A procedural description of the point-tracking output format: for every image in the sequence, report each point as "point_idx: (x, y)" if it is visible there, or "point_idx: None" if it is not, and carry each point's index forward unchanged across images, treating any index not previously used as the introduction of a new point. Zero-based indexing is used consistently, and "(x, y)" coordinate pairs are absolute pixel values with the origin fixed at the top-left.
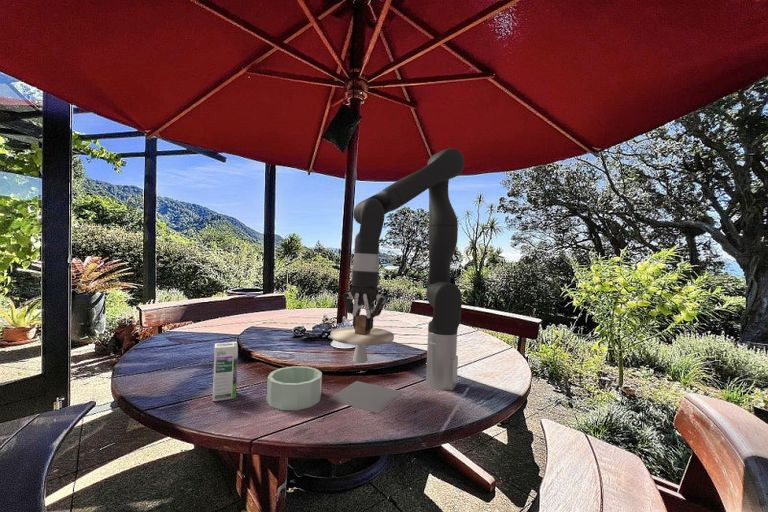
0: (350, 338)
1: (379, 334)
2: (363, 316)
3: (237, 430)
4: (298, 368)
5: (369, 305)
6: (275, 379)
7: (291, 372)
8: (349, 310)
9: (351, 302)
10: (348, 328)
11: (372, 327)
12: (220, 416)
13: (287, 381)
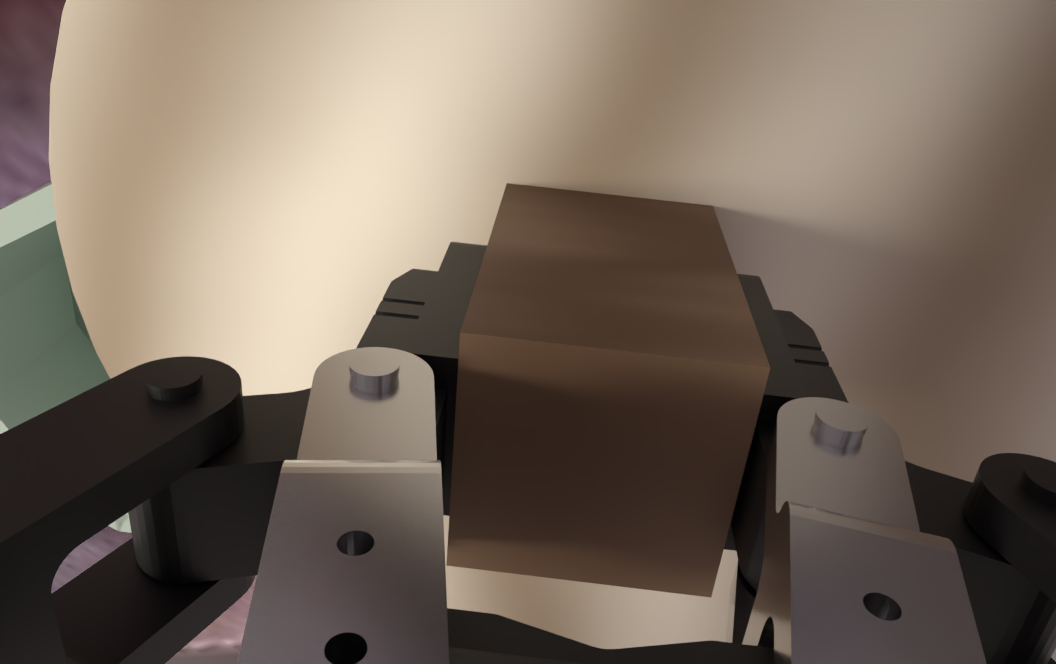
0: (567, 604)
1: (906, 203)
2: (623, 527)
3: (246, 612)
4: (28, 232)
5: (775, 624)
6: (18, 362)
7: (12, 250)
8: (204, 592)
9: (2, 616)
10: (179, 51)
11: (804, 338)
12: (75, 557)
13: (43, 246)
